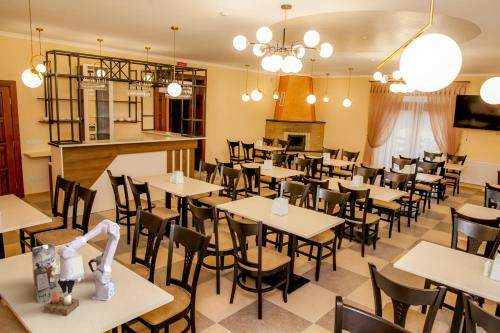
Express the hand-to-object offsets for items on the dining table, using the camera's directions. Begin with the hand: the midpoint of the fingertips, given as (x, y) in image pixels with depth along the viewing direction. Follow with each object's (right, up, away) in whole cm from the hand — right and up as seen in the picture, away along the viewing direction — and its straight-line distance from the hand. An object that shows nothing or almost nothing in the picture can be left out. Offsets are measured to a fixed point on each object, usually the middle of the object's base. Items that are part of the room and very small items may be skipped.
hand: (67, 292), depth 183 cm
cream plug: (0, -7, +1) cm, 7 cm away
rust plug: (-7, -6, +2) cm, 10 cm away
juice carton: (-24, -6, +21) cm, 33 cm away
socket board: (-4, -10, +2) cm, 11 cm away
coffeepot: (+4, -5, +33) cm, 34 cm away
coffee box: (-20, -7, +12) cm, 24 cm away
